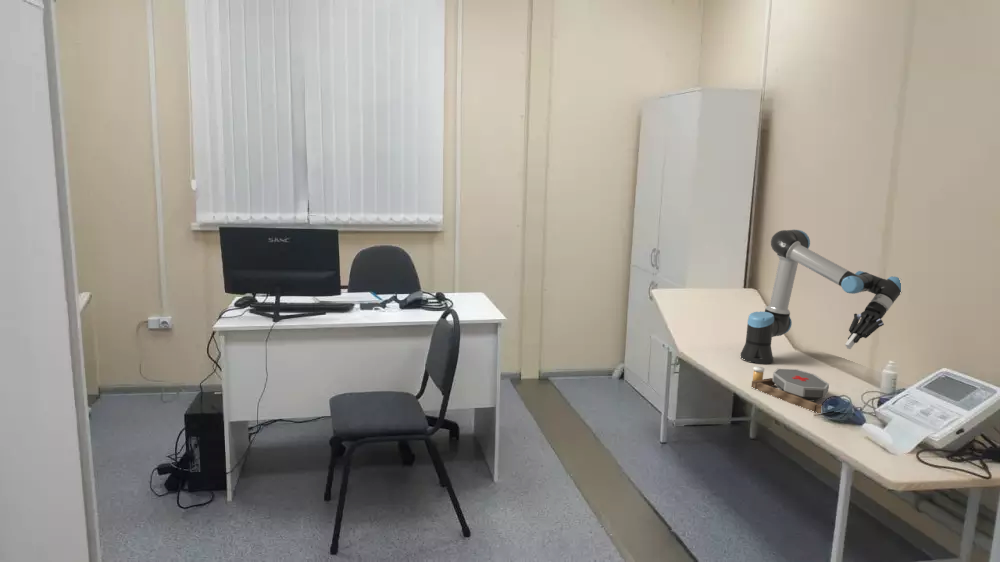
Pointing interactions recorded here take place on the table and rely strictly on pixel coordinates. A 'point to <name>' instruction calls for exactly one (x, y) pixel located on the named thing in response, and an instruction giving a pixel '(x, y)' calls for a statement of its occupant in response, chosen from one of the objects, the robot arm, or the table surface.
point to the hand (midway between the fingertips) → (847, 346)
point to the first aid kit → (801, 383)
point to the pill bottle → (758, 373)
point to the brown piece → (784, 395)
